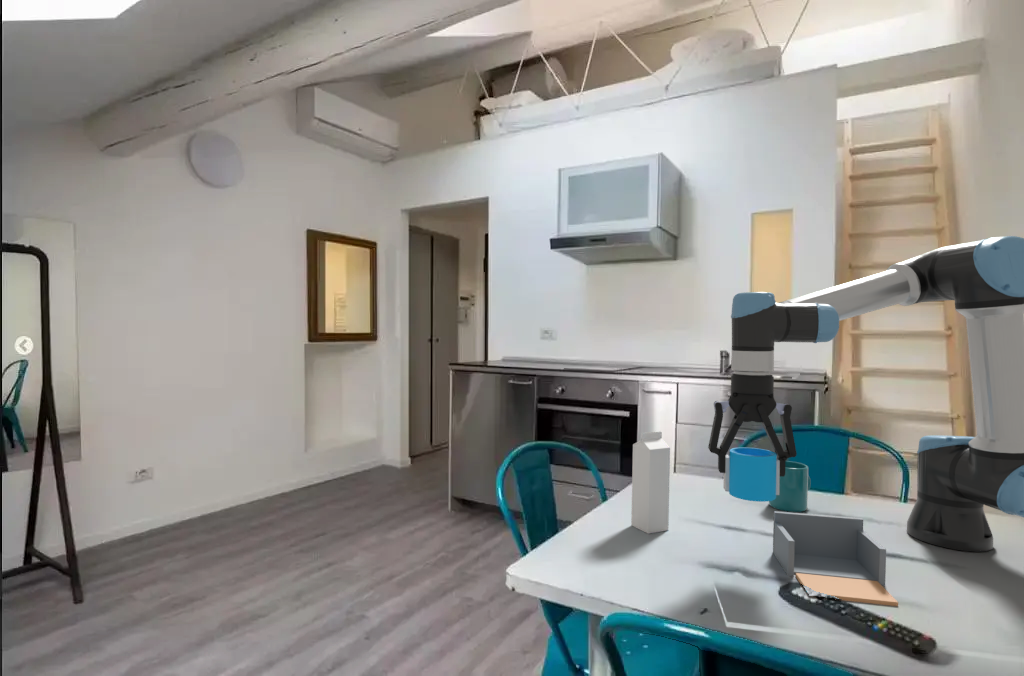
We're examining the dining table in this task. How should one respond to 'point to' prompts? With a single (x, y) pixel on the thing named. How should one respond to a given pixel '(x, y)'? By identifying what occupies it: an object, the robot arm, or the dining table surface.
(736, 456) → the mug
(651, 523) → the milk
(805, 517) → the box
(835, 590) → the panel
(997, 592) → the dining table surface
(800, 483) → the cup
